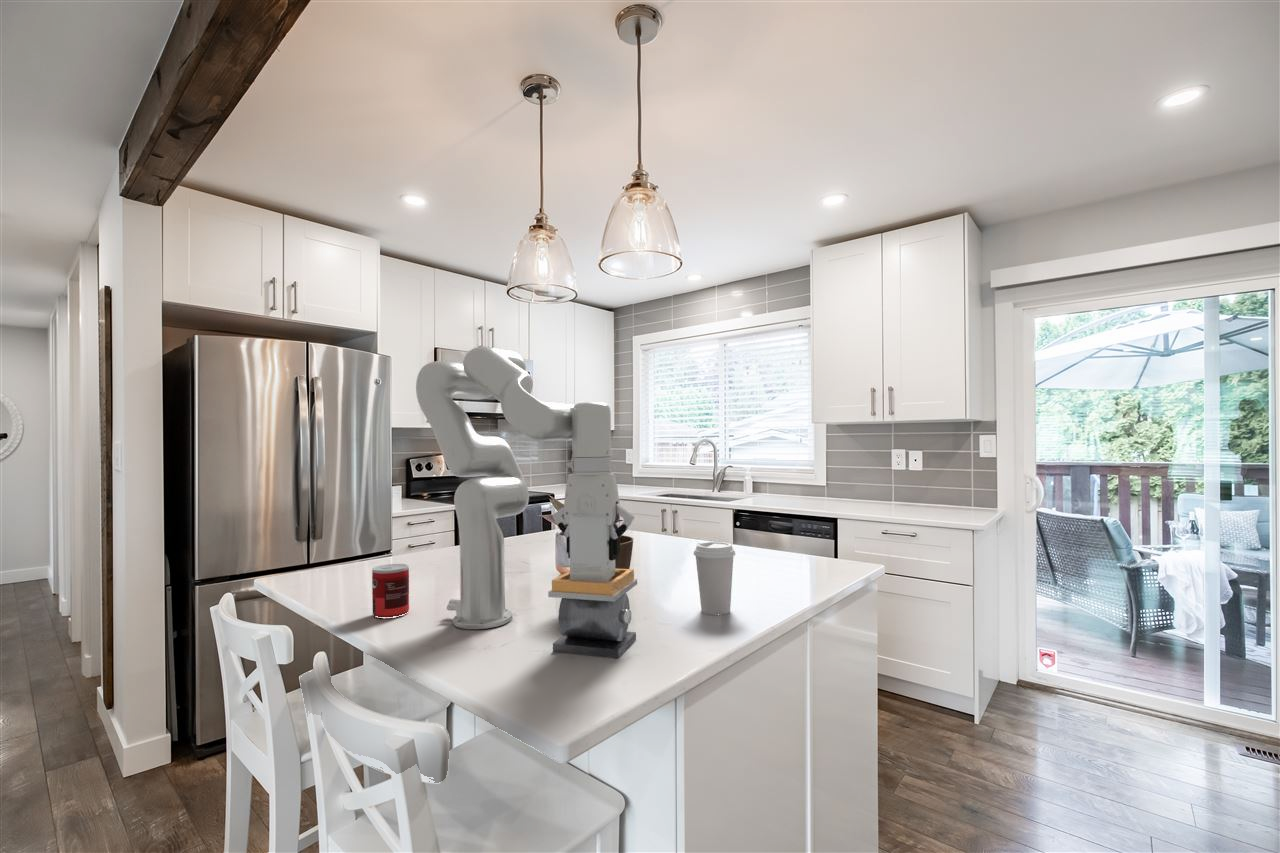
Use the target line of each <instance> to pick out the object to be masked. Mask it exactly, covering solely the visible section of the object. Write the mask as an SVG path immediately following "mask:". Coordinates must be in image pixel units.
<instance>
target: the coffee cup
mask: <svg viewBox="0 0 1280 853" xmlns="http://www.w3.org/2000/svg"><path fill="white" fill-rule="evenodd" d="M693 556H694V557H695V561H696V570H697V572H696V573H697V580H698V590H699V591H698V592H699V600H700V610H701V612H702V613H703V614H706V615H709V614H711V615H710V616H721V615H720V614H724V615H727V614H729V613H730V612H731V607H732V606H731V602H732V587H733V586H732V585H733V583H732V582H733V568H734V556H736V551H735V548H733V545H732V543H730V542H724V541H706V542H705V541H704V542H699V543H697V544H696V547H695V549H694V551H693ZM728 612H729V613H728ZM726 613H727V614H726ZM718 614H719V615H718Z"/></svg>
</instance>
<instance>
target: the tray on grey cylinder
mask: <svg viewBox="0 0 1280 853" xmlns="http://www.w3.org/2000/svg"><path fill="white" fill-rule="evenodd" d="M637 585H638V578H635V569H631V568H629V569H616V568H615V575H614V576H613V577H612V578H611V579H609V580H608V582H597V581H580V580H570V570H569V571H568V572H567V571H566V572H565V573H563V574H562V575H559V576H557V577H555V578H553V579H551V589H550V590H549V591H548V592H547V594H548V596H547V597H548V598H558V599H560V604H559V608H558V628H559V630H560V633H561V634H562V636H561V637H560V638H558V639H557V640H556V641H554V642H553V643H552V652H553V653H563V654H573V655H584V656H593V657H603V658H610V659H611V658H612V659H619V658H620V657H621V656H622V655H624V653H625V652H626V651H627V650H628V649H629V648H630V647H631V646H632V645H633V644H634V643H635V642H636V640H637V631H636V632H635V631H628V628H629V624H631V621H632V611H631V609H630V600H629V596H628V594H627V593H628V592H629V591H630V590H632V589H633V588H634V587H636V586H637Z"/></svg>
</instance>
